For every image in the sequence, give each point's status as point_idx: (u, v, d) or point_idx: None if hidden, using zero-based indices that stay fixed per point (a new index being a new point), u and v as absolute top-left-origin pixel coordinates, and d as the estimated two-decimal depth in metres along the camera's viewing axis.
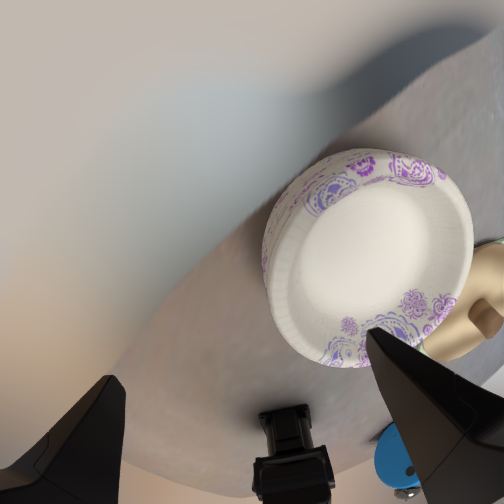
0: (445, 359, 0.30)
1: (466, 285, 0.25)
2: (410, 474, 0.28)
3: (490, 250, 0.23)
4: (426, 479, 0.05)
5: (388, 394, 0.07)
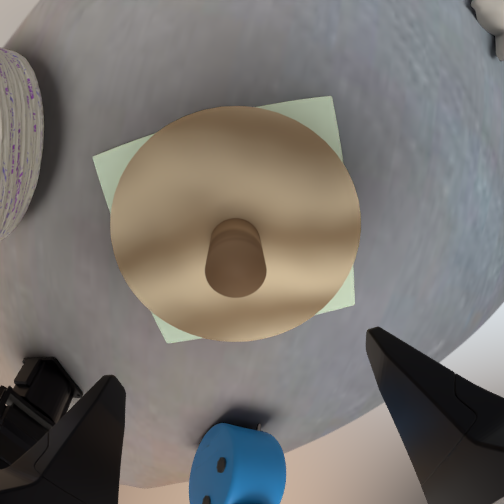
0: (213, 336, 0.22)
1: (166, 186, 0.17)
2: None
3: (206, 116, 0.15)
4: (426, 479, 0.05)
5: (388, 394, 0.07)
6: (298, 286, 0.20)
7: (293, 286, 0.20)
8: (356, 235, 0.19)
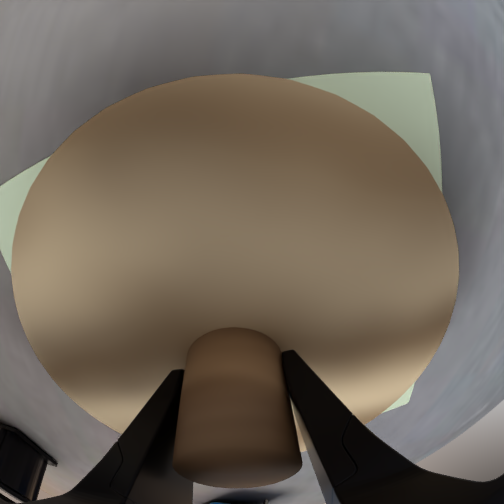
0: None
1: (86, 265, 0.07)
2: None
3: (158, 102, 0.06)
4: None
5: (297, 420, 0.07)
6: None
7: None
8: (442, 331, 0.09)
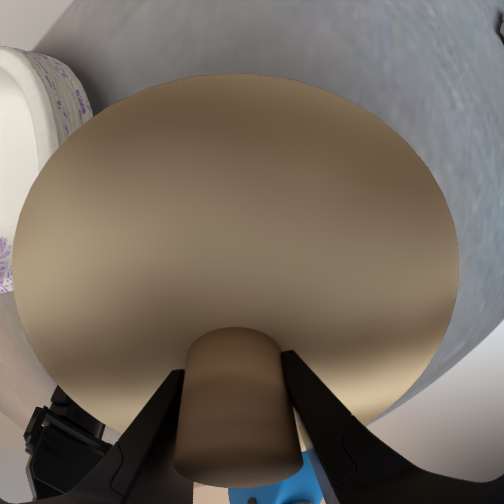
0: None
1: (87, 265, 0.07)
2: None
3: (159, 101, 0.06)
4: None
5: (297, 420, 0.07)
6: None
7: None
8: (442, 330, 0.09)
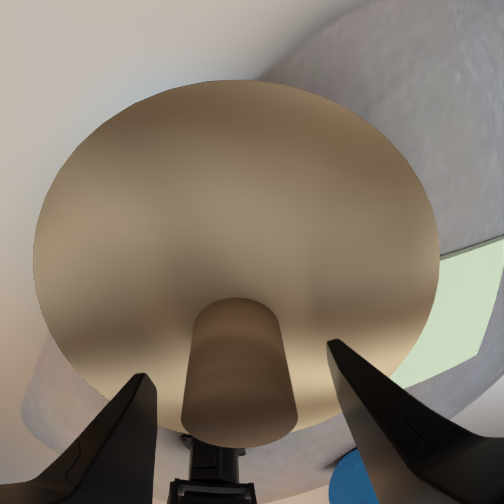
0: None
1: (108, 241, 0.09)
2: None
3: (178, 101, 0.07)
4: (382, 497, 0.05)
5: (345, 408, 0.07)
6: None
7: (325, 383, 0.12)
8: (427, 310, 0.11)
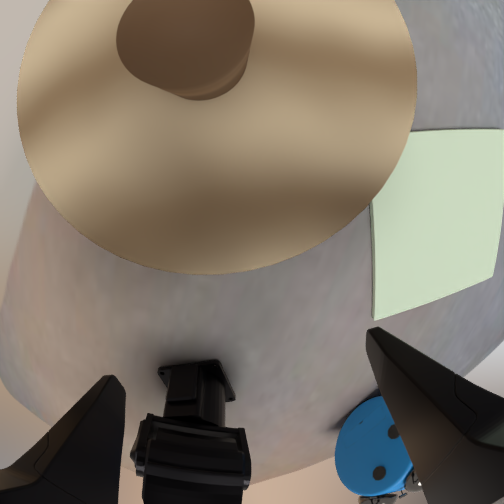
0: (159, 262, 0.12)
1: None
2: (378, 477, 0.22)
3: None
4: (426, 479, 0.05)
5: (388, 394, 0.07)
6: (320, 155, 0.10)
7: (310, 153, 0.10)
8: (412, 78, 0.09)
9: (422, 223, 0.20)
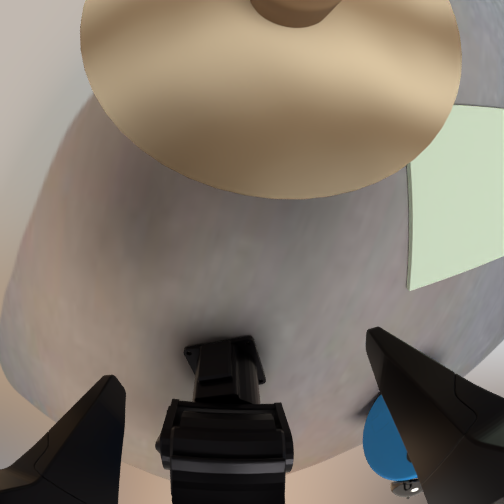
0: (234, 183, 0.11)
1: None
2: None
3: None
4: (426, 479, 0.05)
5: (388, 394, 0.07)
6: (394, 90, 0.09)
7: (386, 87, 0.09)
8: (456, 40, 0.08)
9: (453, 191, 0.20)
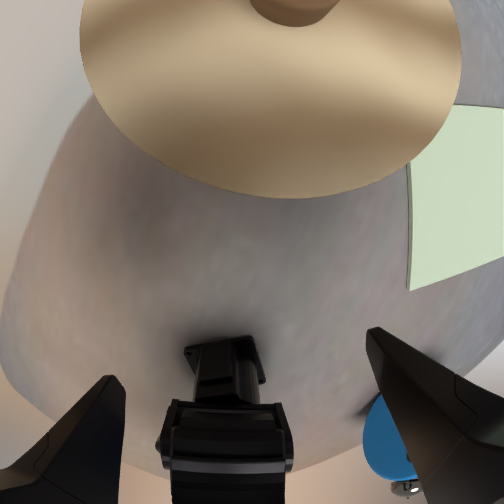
0: (235, 183, 0.11)
1: None
2: None
3: None
4: (426, 479, 0.05)
5: (388, 394, 0.07)
6: (394, 88, 0.09)
7: (386, 85, 0.09)
8: (456, 38, 0.08)
9: (453, 191, 0.20)
